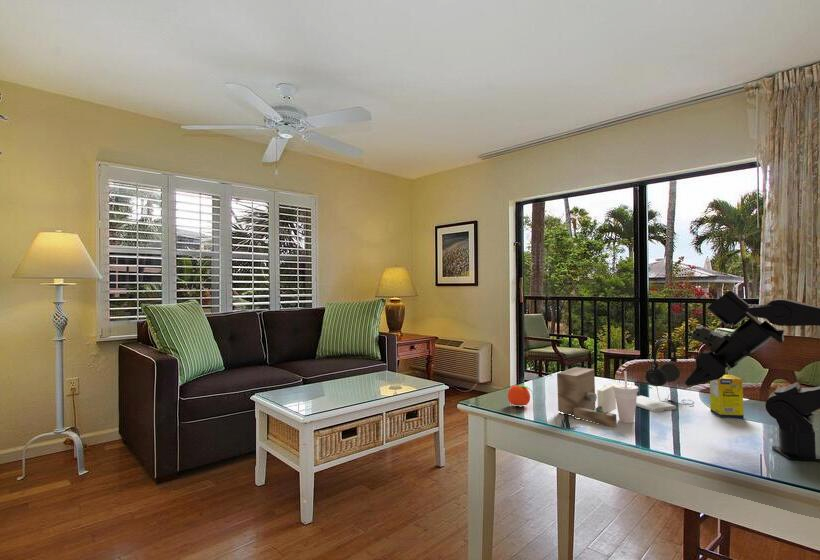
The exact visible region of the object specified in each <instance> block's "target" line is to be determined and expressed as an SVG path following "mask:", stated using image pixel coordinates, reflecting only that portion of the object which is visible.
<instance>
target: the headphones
mask: <svg viewBox="0 0 820 560" xmlns="http://www.w3.org/2000/svg"><path fill="white" fill-rule="evenodd" d="M665 341H666V342H667V341H668V343H669V344H670V346H671V354H672V355H673V356H670V362H666V363H663V364H661V366H660V367H659V364H658V363H659V362H657V356H658V353H659V348H660V346H661V345H662V344H663V343H664V342H665ZM653 349H654V350H653V355H651V362H650V364H651V367H649V368H648V369H647V370H646V373H645V381H646V382H647V383H648V384H649V385H651V386H653V387H656V389H657V393H659V391H658V390H659V389H658V387H661V386H664V385H666V383H668V384H670V383H674V382H676V381H677V380H679V378H680V376H681V370H680V368H679V366H678V365H676V364H674V363H677V362H678V358H677V355H676V354H677V353H676V346H675V343H674V341H673V340H672V339H670V338H660V339H659V340H657V342H656V343H655V346H654V348H653ZM657 397H658V399H659V401H661V402H664V401H667V402H669V403H670V402H671V403H676V404H678V405H681V403H679V402H676V401H674V400H672V399H669V398H670V395H668V396H667V398H664V400H661V399H660V396H659V395H657ZM683 401H684V399H683V400H681V402H682V404H683V405H686V406H687V405H689V407H694V402H692V400H691V399H689V401H691V402H692V403H691V405H690V403H689V402H688V403H687V402H683Z"/></svg>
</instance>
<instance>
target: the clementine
mask: <svg viewBox="0 0 820 560" xmlns="http://www.w3.org/2000/svg"><path fill="white" fill-rule="evenodd" d="M530 392H531V393H532V395H534V394H533V391H532V390H531V388H529V387H528V386H526V385H522V384H514V385H513V386H511V387H510V388H509V389H508V392H507V400H508V401H509V403H510V404H511V405H512V404H514V405H526V406H527V405H528V404H529V403H530V401H531V393H530Z"/></svg>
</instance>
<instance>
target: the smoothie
mask: <svg viewBox="0 0 820 560" xmlns="http://www.w3.org/2000/svg"><path fill="white" fill-rule="evenodd" d="M627 372H628V371H627V370H624V372H623V375H624V383H615V384H612V385H613V390H614V391H615V397H616V409H617V415H618V419H619V420H618V421H619V422H621V423H625V424H634V423H635V416H636V409H637V406H636V399H637V396H638V392H639V386H637V385H635V384H630V383H629V384H628V378H627V377H628V375H627V374H628V373H627Z"/></svg>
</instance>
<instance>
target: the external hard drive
mask: <svg viewBox="0 0 820 560" xmlns="http://www.w3.org/2000/svg"><path fill="white" fill-rule="evenodd" d="M636 407H639V408H642V409H643V410H644V409H645V410H648V411H651V412H653V413H657V412H658V413H659V412H664V411H665V412H666V411H671V410H676V409H677V405H674V404H671V403H667V402H665V401H663V402H662V400H661V401H660V400H657V399H653V398H651V397H648V396H644V395H637V399H636Z"/></svg>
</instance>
